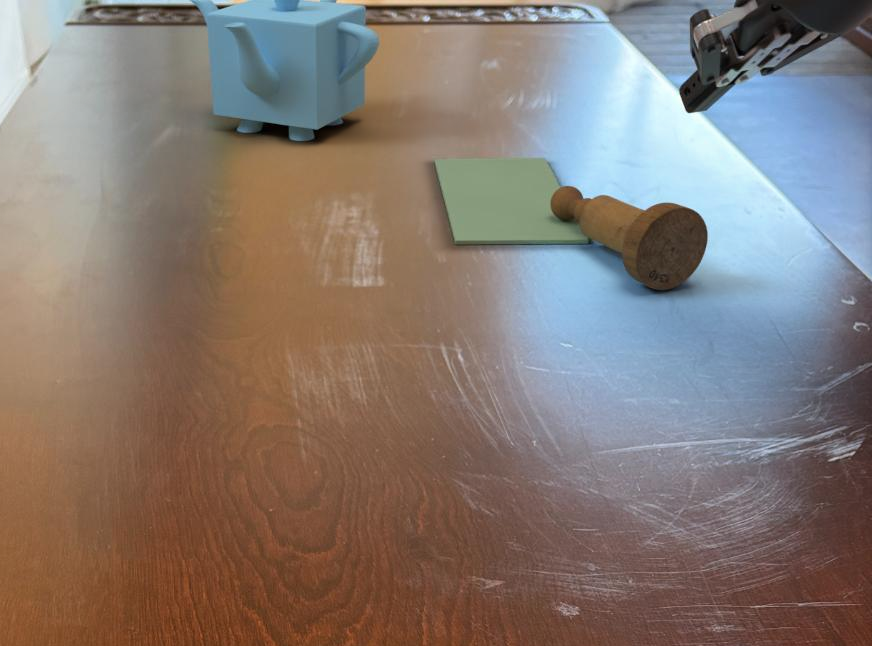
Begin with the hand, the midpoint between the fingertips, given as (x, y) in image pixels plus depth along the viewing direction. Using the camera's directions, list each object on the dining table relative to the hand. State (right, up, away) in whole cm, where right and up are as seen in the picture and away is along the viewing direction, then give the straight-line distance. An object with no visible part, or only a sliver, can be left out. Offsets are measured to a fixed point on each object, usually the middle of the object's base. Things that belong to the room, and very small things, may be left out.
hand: (690, 101), depth 76 cm
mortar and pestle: (+1, -9, +7) cm, 11 cm away
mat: (-9, +2, +27) cm, 28 cm away
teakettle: (-32, +18, +49) cm, 61 cm away
